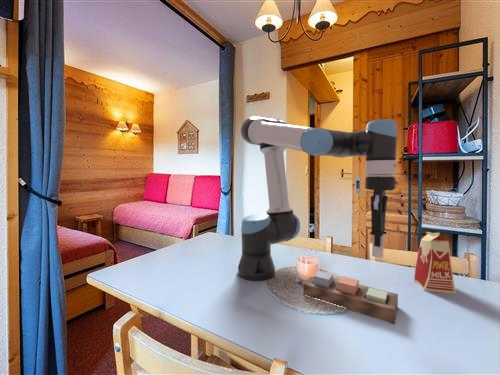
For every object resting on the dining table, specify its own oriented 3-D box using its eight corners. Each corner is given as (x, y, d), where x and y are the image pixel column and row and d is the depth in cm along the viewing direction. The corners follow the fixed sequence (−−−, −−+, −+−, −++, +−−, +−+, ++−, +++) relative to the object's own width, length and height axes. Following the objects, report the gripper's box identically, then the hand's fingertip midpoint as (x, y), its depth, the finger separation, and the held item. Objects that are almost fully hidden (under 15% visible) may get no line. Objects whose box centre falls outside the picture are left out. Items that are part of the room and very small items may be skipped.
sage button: (365, 308, 70) (365, 294, 70) (368, 301, 74) (369, 287, 74) (384, 314, 68) (385, 299, 67) (387, 306, 72) (387, 292, 71)
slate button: (313, 288, 80) (313, 275, 79) (318, 282, 84) (318, 270, 83) (328, 293, 77) (328, 279, 76) (333, 286, 81) (333, 274, 80)
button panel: (303, 295, 79) (303, 283, 79) (314, 283, 87) (314, 273, 87) (394, 324, 64) (394, 310, 64) (397, 306, 72) (397, 294, 72)
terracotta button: (337, 295, 75) (338, 282, 75) (342, 289, 79) (342, 276, 79) (354, 300, 72) (355, 286, 72) (358, 293, 76) (358, 280, 76)
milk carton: (455, 293, 79) (458, 234, 78) (424, 291, 81) (427, 233, 80) (440, 281, 88) (442, 228, 87) (412, 279, 90) (414, 227, 89)
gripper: (392, 176, 61) (389, 266, 62) (397, 175, 71) (394, 252, 73) (361, 176, 65) (358, 260, 67) (369, 175, 76) (367, 247, 77)
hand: (377, 256), depth 70 cm, fingers closed
